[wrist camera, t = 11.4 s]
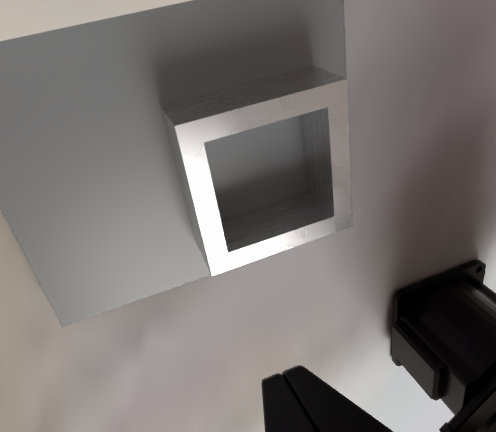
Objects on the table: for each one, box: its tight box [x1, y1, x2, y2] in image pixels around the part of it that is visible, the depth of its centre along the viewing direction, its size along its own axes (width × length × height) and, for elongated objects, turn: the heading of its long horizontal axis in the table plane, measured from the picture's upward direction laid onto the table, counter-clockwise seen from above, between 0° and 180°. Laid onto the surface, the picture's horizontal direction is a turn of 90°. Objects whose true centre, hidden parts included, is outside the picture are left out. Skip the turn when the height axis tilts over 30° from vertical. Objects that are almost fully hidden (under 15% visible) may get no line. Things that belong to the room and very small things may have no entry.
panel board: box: [0, 0, 346, 327], centre depth 16 cm, size 14×22×1 cm, turn 9°
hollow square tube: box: [160, 65, 352, 276], centre depth 18 cm, size 6×6×2 cm
